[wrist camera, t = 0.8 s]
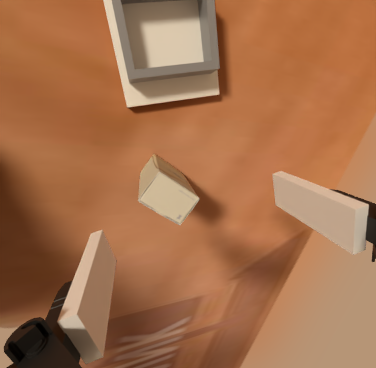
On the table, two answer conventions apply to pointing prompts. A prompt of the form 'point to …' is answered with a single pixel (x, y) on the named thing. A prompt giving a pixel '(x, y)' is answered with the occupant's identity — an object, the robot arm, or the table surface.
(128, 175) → the table surface
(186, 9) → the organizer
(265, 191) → the table surface
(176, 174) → the skincare box
